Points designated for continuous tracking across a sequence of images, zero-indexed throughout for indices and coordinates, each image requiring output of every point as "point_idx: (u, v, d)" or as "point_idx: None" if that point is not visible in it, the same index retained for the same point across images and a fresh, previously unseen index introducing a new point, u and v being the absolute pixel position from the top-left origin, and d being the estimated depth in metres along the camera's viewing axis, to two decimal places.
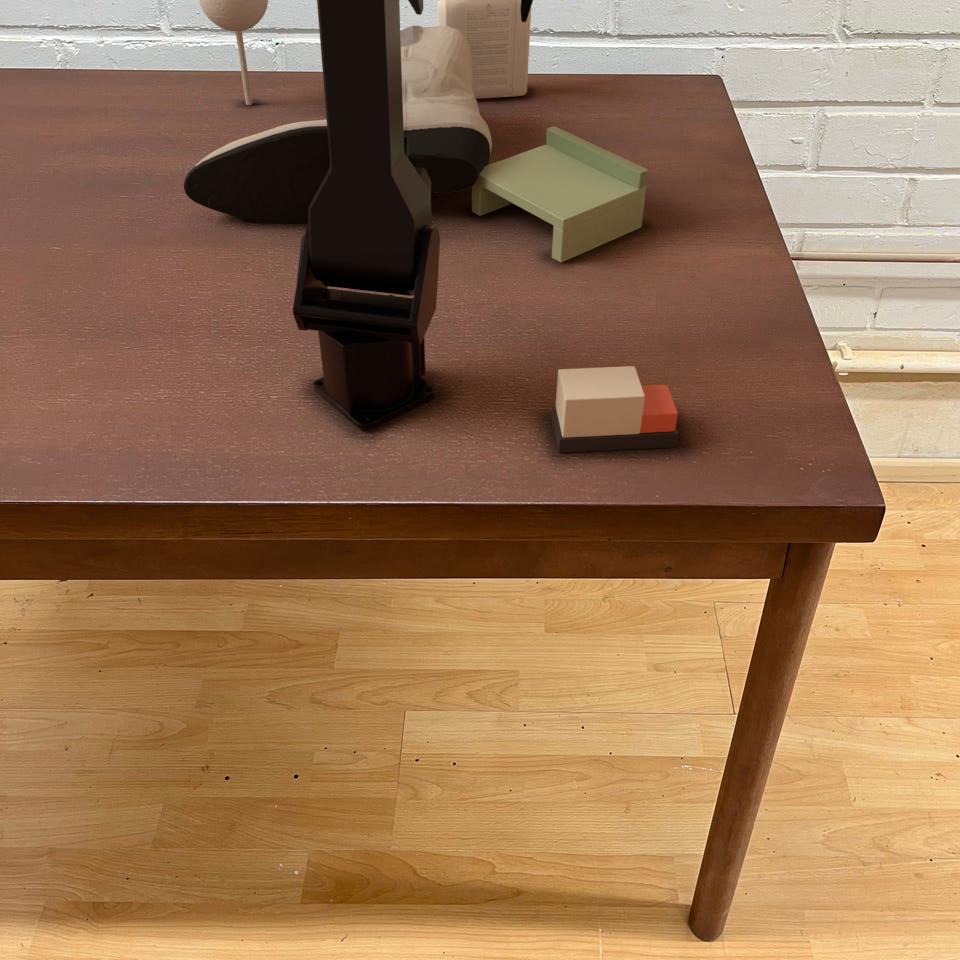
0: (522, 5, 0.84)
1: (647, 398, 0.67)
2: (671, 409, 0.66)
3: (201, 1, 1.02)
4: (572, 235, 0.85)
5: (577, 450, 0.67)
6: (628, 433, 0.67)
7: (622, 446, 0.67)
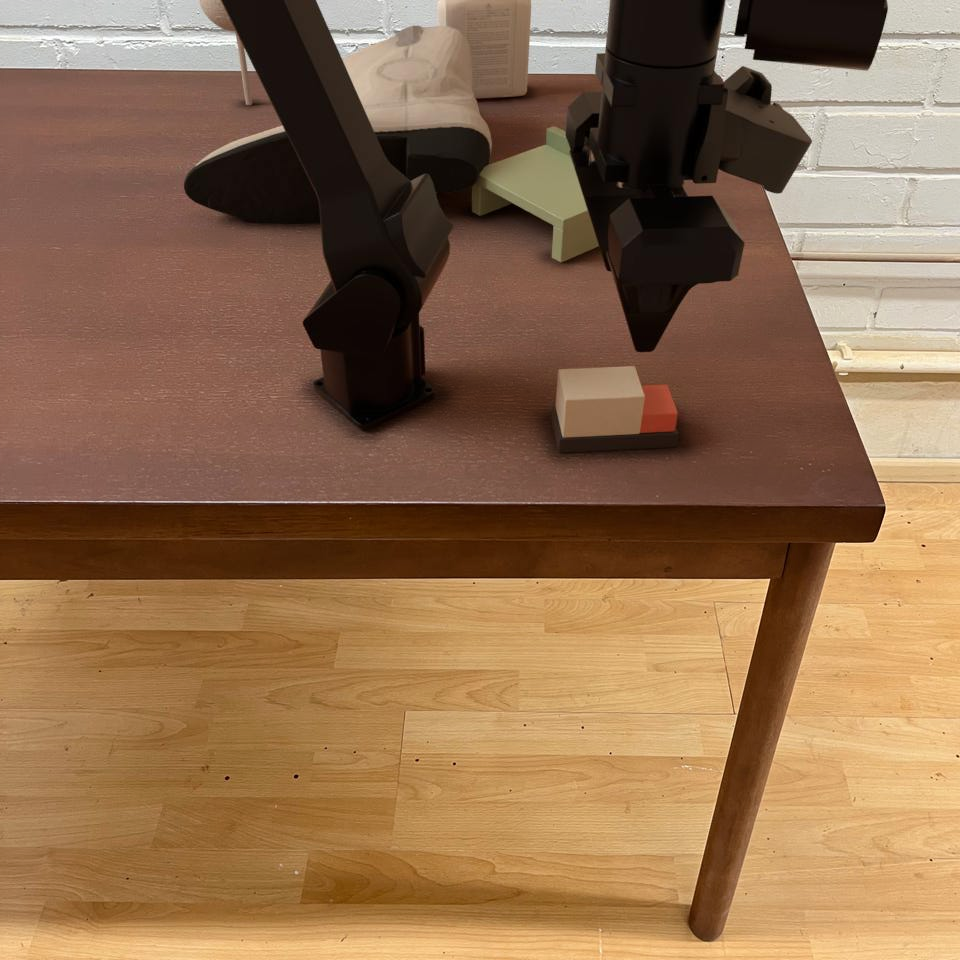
0: None
1: (647, 398, 0.67)
2: (671, 409, 0.66)
3: (201, 1, 1.02)
4: (572, 235, 0.85)
5: (577, 450, 0.67)
6: (628, 433, 0.67)
7: (622, 446, 0.67)
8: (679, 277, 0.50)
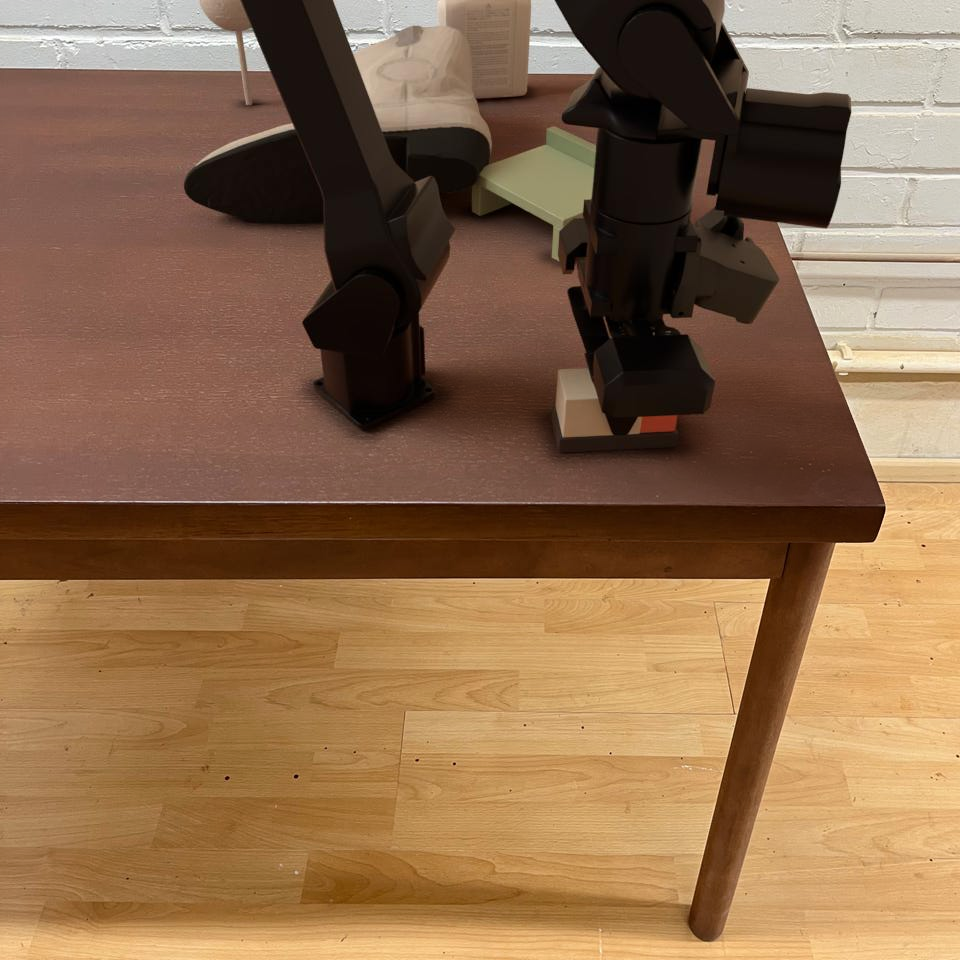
0: None
1: None
2: None
3: (201, 1, 1.02)
4: None
5: (577, 450, 0.67)
6: (628, 433, 0.67)
7: (622, 446, 0.67)
8: (656, 411, 0.56)
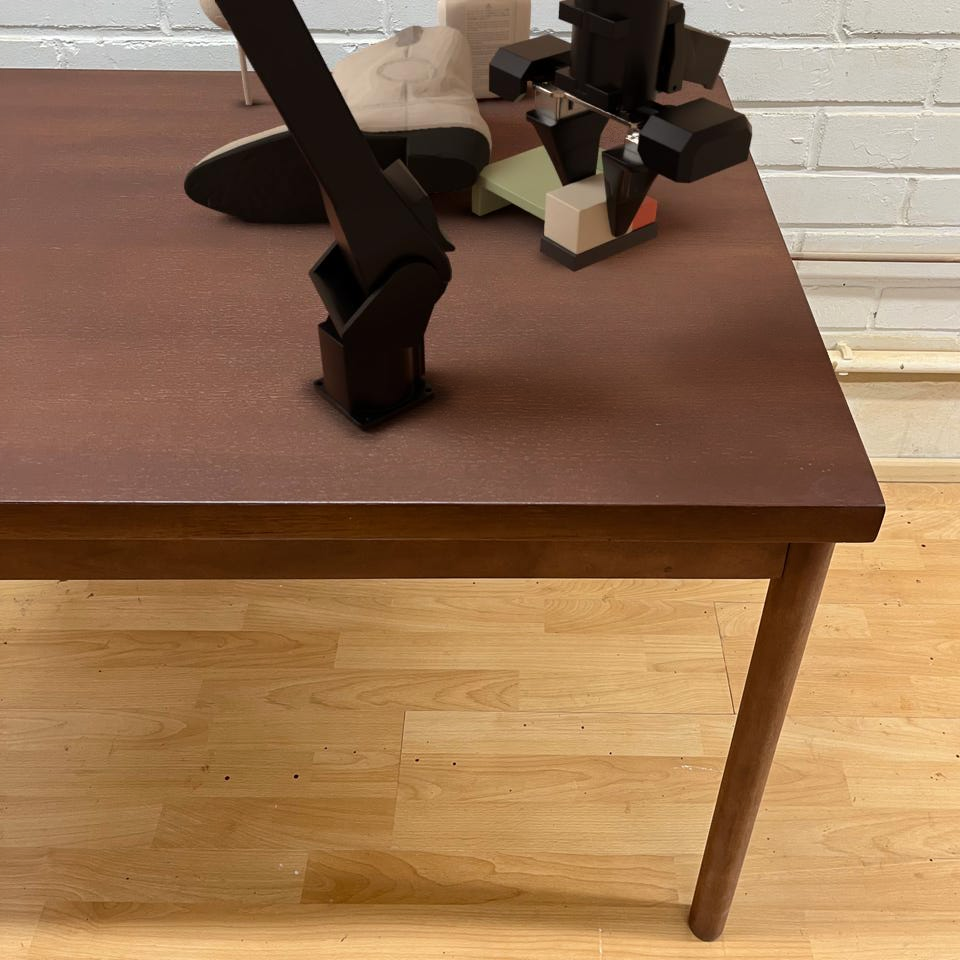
0: (608, 213, 0.67)
1: None
2: (650, 200, 0.70)
3: (201, 1, 1.02)
4: None
5: (588, 264, 0.69)
6: None
7: (620, 249, 0.70)
8: (718, 167, 0.59)
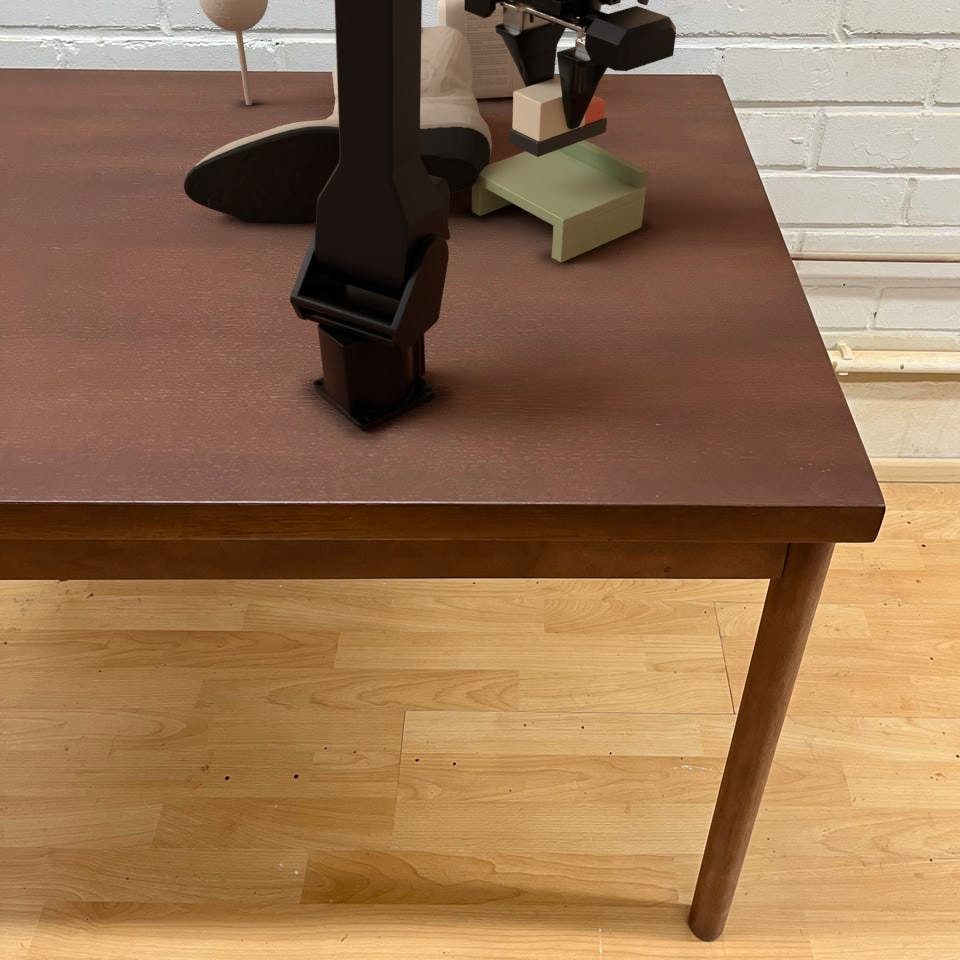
0: (564, 108, 0.82)
1: None
2: (599, 99, 0.85)
3: (201, 1, 1.02)
4: (572, 235, 0.85)
5: (548, 151, 0.84)
6: None
7: (575, 140, 0.85)
8: (649, 59, 0.74)
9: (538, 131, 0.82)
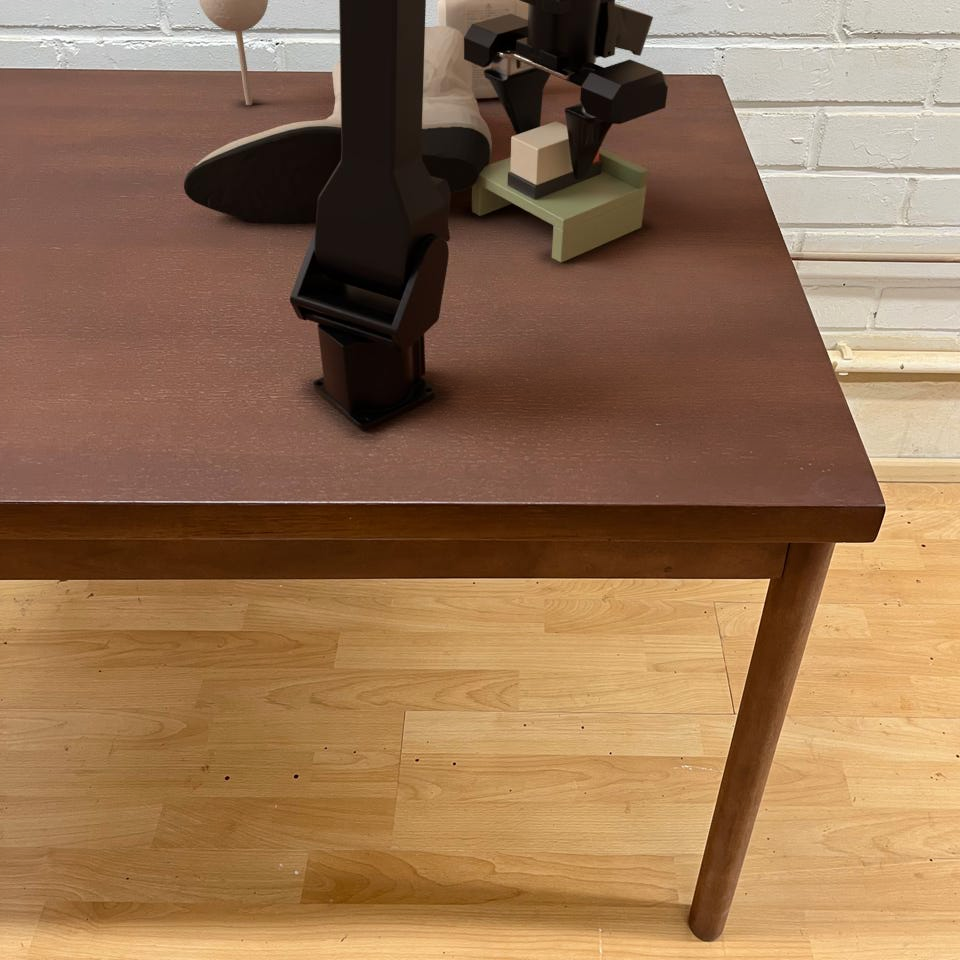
0: (571, 159, 0.84)
1: None
2: None
3: (201, 1, 1.02)
4: (572, 235, 0.85)
5: (545, 194, 0.86)
6: None
7: (571, 182, 0.88)
8: (642, 112, 0.77)
9: (535, 175, 0.85)
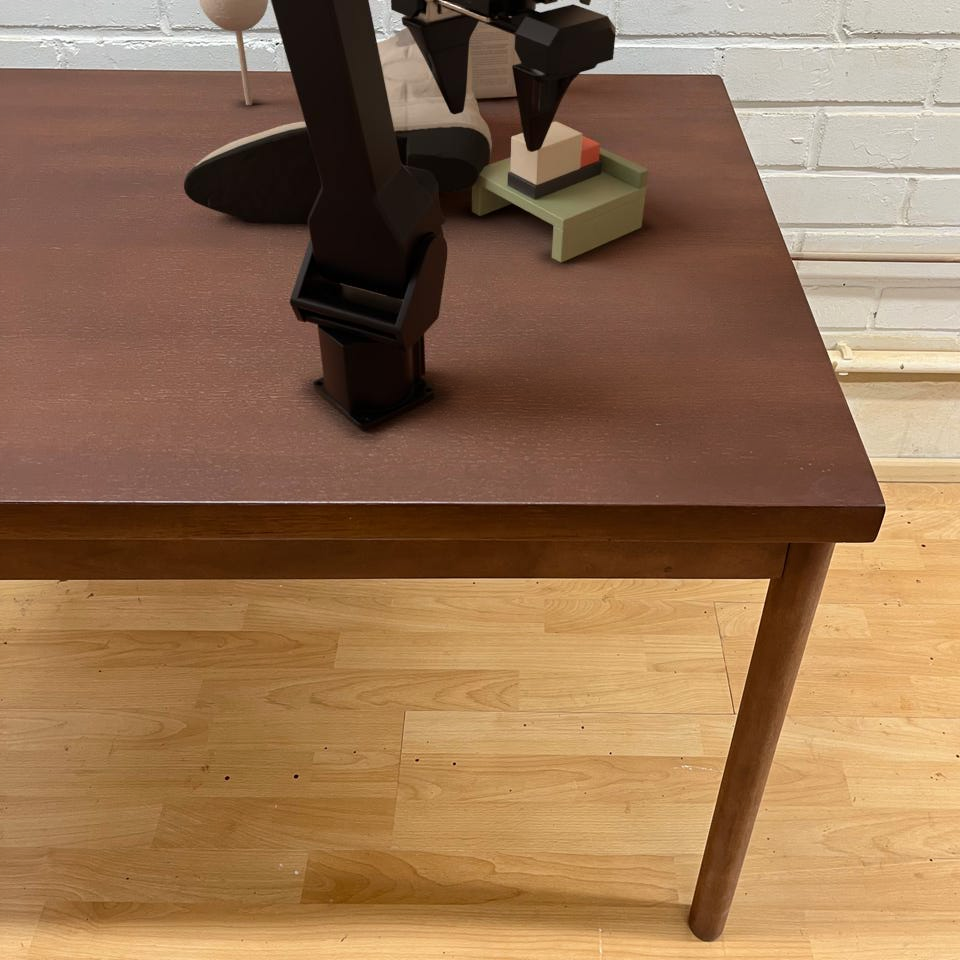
0: (523, 128, 0.73)
1: None
2: (594, 143, 0.88)
3: (201, 1, 1.02)
4: (572, 235, 0.85)
5: (545, 194, 0.86)
6: (574, 169, 0.87)
7: (571, 182, 0.88)
8: (585, 62, 0.67)
9: (535, 175, 0.85)
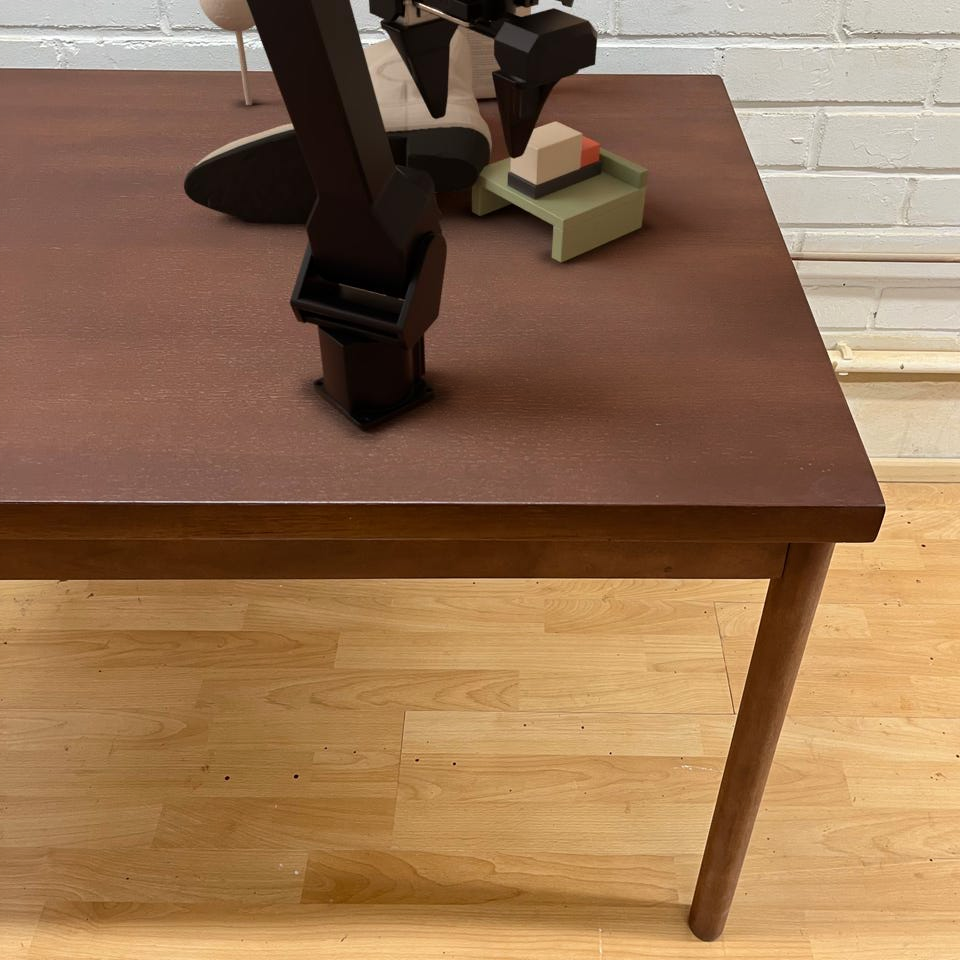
0: (504, 134, 0.72)
1: None
2: (594, 143, 0.88)
3: (201, 1, 1.02)
4: (572, 235, 0.85)
5: (545, 194, 0.86)
6: (574, 169, 0.87)
7: (571, 182, 0.88)
8: (566, 68, 0.66)
9: (535, 175, 0.85)
